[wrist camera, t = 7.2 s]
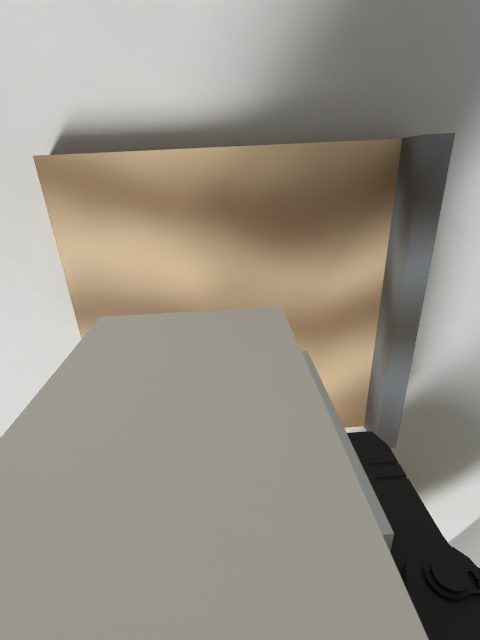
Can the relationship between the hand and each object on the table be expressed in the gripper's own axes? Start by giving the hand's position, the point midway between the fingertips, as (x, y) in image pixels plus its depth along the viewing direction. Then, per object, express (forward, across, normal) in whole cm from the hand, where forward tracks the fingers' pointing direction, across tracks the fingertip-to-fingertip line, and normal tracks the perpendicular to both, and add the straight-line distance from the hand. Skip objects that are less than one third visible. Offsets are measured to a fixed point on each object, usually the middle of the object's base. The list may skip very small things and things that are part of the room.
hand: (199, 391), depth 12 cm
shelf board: (+9, +2, 0) cm, 9 cm away
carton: (0, 0, 0) cm, 0 cm away
